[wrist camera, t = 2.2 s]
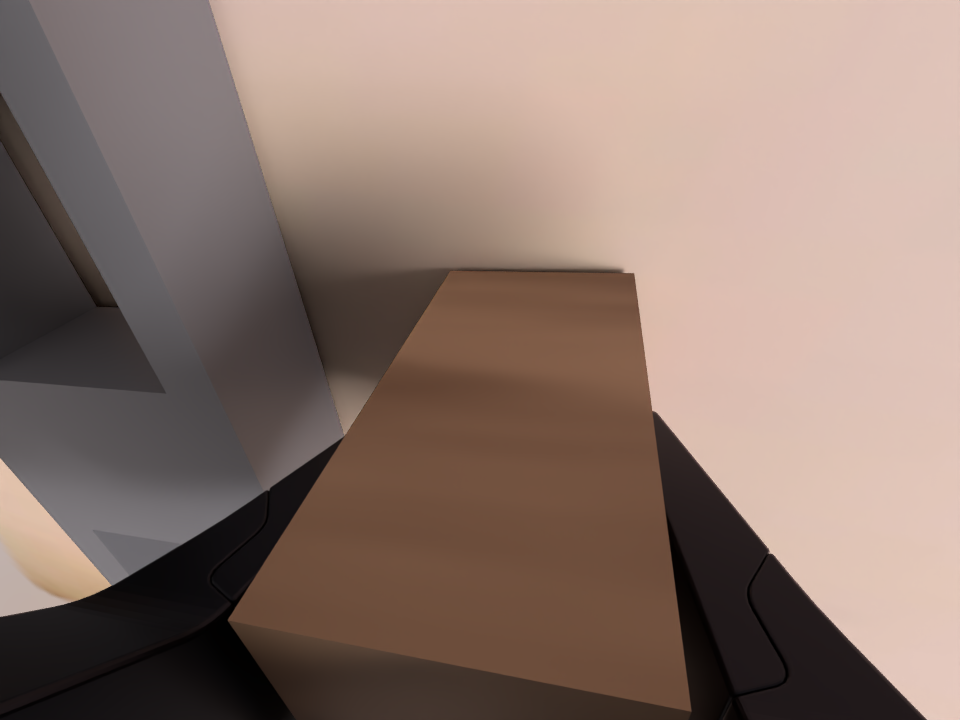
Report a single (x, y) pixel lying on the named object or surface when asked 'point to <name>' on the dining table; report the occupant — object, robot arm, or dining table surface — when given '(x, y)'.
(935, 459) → the dining table surface
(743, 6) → the dining table surface
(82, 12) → the socket strip
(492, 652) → the brown wooden block
